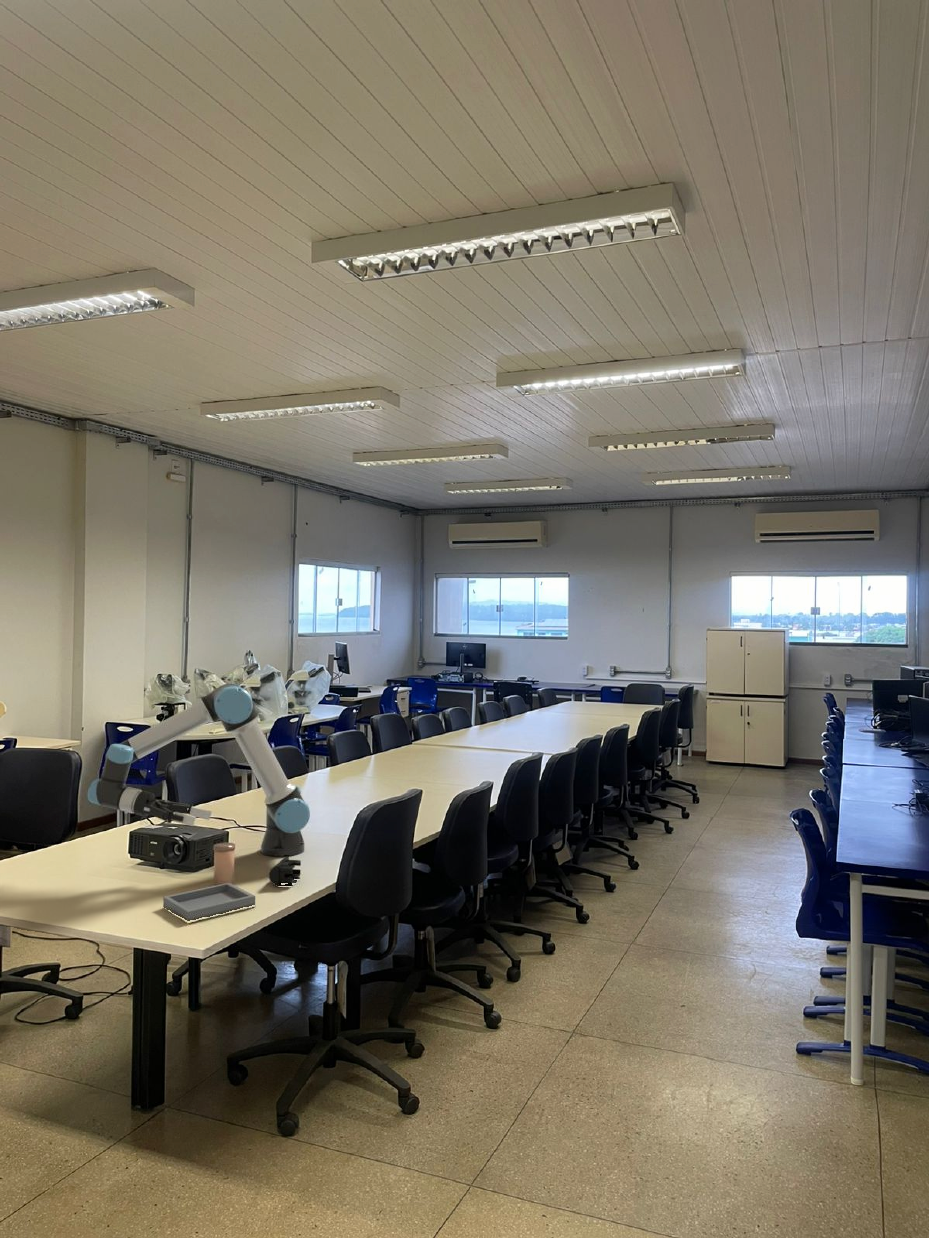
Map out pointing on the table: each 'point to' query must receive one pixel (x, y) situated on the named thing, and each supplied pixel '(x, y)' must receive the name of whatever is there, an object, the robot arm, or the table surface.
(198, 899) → the charcoal tray
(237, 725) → the robot arm
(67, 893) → the table surface
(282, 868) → the black pronged block
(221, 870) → the terracotta jar
